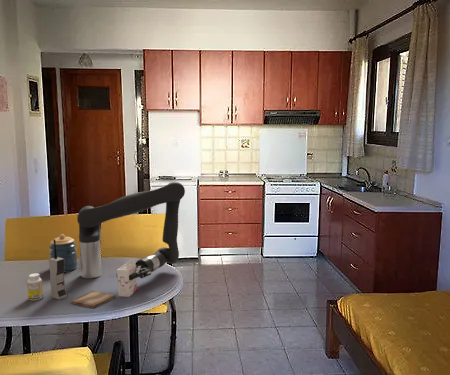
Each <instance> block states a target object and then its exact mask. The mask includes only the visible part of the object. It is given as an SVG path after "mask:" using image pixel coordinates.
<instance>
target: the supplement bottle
mask: <svg viewBox="0 0 450 375" xmlns="http://www.w3.org/2000/svg"><path fill="white" fill-rule="evenodd" d="M26 282H27V283H26V284H27V296H28V300H29V301H33V302H34V301H39V300H41V299H43V298H44V290H43V280H42V278H41V277H40V273H37V272H36V273H31V274H29V275H28V279H27V280H26Z"/></svg>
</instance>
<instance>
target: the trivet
mask: <svg viewBox="0 0 450 375" xmlns="http://www.w3.org/2000/svg"><path fill="white" fill-rule="evenodd" d="M115 296H116V295H115V294H112V293H107V292H103V291H98V290H91V291H87V292H86V293H84V294H82V295H80V296H78V297H76V298H74V299H72V300H71V304H75V305H78V306H79V305H80V306H83V307H87V308H92V309H95V308H97V307H100V306H101V305H104V304H105V303H107V302H108V301H110V300H113V299H114V298H115Z"/></svg>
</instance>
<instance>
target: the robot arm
mask: <svg viewBox="0 0 450 375" xmlns="http://www.w3.org/2000/svg"><path fill="white" fill-rule="evenodd" d="M185 193H186V189H185V187H184V185H183V184H182V183H180V182H178V181H171V182H169V183H168V184H166V185H164V186H161V187H159V188H155V189H152V190H146V191H140V192H135V193H134V192H133V193H130V194H127V195H124V196H122V197H120V198H119V197H118V198H117V199H115V200H113V201H111V202H109V203H106V204H104V205H100V206H96V207H94V206H91V205H86V206H83V207H82V208H81V209H80V210H79V211H78V214H77V217H76V221H77V223H78V231H79V232H78V238H79V239H78V240H79V241H78V242H79V256H78V267H79V277H81V278H83V279H94V278H99V277H100V276H101V275H102V261H101V260H102V258H101V257H102V256H101V240H100V238H101V237H100V235H101V234H100V224H102V223H106V222H108V221H111V220H114V219H118V218H122V217H125V216H130V215H133V214H137V213H141V212H143V211H145V210H146V211H147V210H148V209H151V208H154V207H156V206H157V205H158V206H159V205H162V204H165V214H164V215H165V216H164V221H163V222H164V224H163V232H162V242H163V243H165V244H167V245H168V247H164V246H163V247H160V248H158V249H157V250H156V251H155V253H153V254H151V255H147V256H145V257H143V258H140V259H138V260H136V261H135V265H136V273H133V274H131V275H129V280H133V279H135V278H136V279H139V278H140V279H144V278H146V277H149V276H151V275H152V273H153V272H155V271H157V270H158V269H160V268H162V267H163V266H165V264H166V263H167V264H176V263H177V262H178V260H179V257H180V251H179V247H178V246H179V245H178V234H179V232H178V231H179V209H180V203H181V199H182V198H184V196H185Z"/></svg>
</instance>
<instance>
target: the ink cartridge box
mask: <svg viewBox="0 0 450 375" xmlns="http://www.w3.org/2000/svg"><path fill="white" fill-rule="evenodd" d="M135 264H136V260H135V257H133V258H131V259H129V261H127V262H126V263H124V264H123V265H121V266H120V267H119V268H117V269H116V278H117V287H118V289H117V290H118V297H126V298H127V297H128V298H129V297H131V296H132V295H133V294H134V293H135V292H136V291H137V290H138V286H137V284H138V283H137V278H135V279H133V280H129V275H131V274H133V273H136V265H135Z"/></svg>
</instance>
